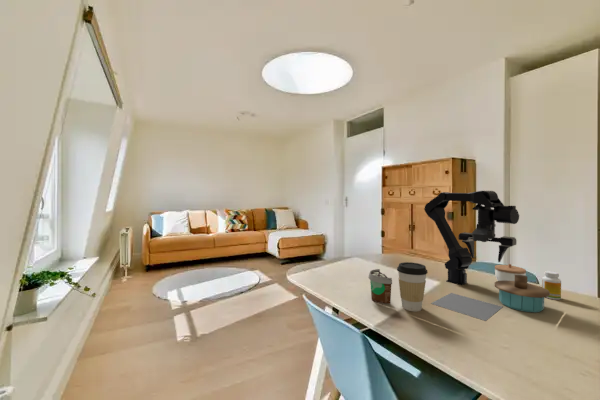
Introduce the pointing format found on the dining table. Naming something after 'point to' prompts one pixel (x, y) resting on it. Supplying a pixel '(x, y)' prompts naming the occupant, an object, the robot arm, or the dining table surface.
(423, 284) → the coffee cup
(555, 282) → the supplement bottle
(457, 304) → the mat
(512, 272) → the lidded jar
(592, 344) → the dining table surface
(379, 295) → the food container
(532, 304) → the bowl
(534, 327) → the dining table surface
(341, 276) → the dining table surface
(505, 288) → the lid
